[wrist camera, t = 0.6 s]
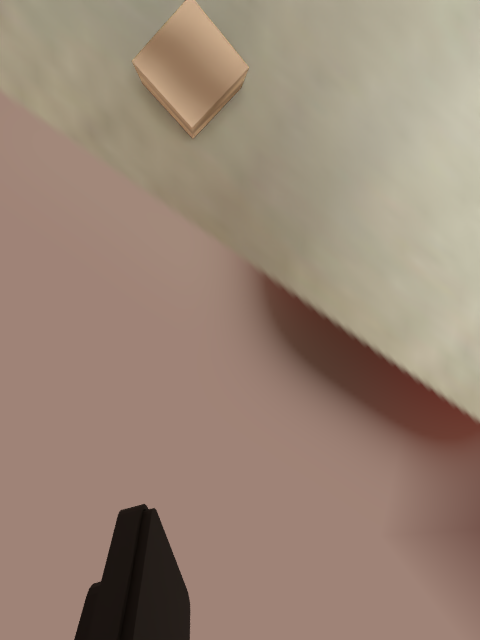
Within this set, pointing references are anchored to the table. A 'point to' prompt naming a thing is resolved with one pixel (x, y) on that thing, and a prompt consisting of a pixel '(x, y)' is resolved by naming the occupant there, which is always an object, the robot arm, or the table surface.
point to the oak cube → (191, 68)
